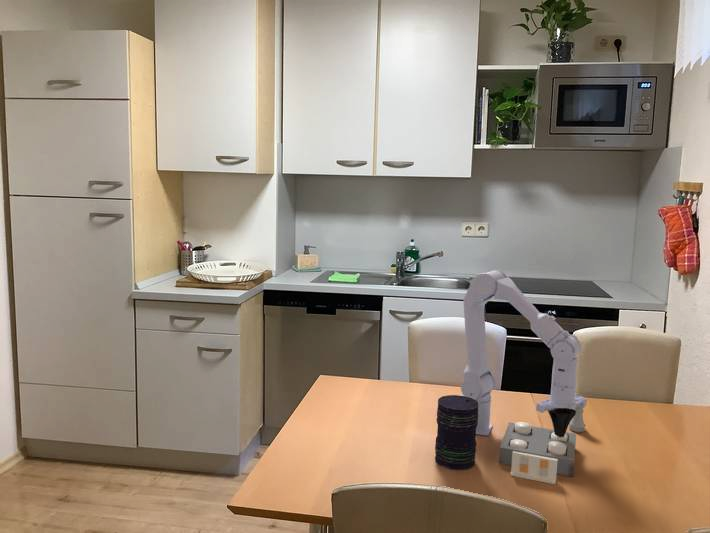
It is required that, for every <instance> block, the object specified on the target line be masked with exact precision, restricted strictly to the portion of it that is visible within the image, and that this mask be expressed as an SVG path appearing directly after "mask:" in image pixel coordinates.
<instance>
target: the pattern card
mask: <svg viewBox="0 0 710 533" xmlns="http://www.w3.org/2000/svg"><path fill="white" fill-rule="evenodd" d="M557 461H558V459H553V458H548V457H542V456H537V455H532V454H526V453H521V452H515V451H513V452H512V465H510V466H511V467H510V468H511V469H510V475H509V476H511V477H517V478H521V479H527V480H532V481H535V482H542V483H547V484H552V485H556V483H557V475H558V474H557Z"/></svg>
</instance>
